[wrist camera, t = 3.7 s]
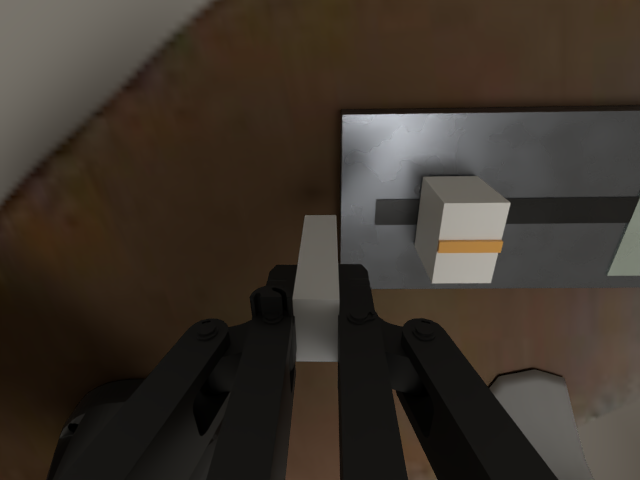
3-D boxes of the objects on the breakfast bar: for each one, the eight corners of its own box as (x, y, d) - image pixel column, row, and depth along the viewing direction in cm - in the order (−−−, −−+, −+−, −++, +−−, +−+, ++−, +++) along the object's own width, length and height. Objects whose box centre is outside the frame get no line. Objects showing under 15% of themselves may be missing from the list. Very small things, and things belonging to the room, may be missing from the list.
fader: (414, 246, 22) (432, 285, 18) (422, 176, 20) (445, 205, 16) (463, 245, 22) (492, 285, 18) (477, 176, 20) (512, 204, 16)
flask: (489, 365, 30) (559, 499, 21) (576, 367, 30) (684, 502, 21) (470, 422, 33) (524, 558, 24) (549, 424, 33) (631, 561, 24)
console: (339, 272, 25) (341, 314, 21) (341, 109, 20) (345, 123, 16) (740, 269, 25) (821, 312, 21) (844, 102, 20) (978, 114, 16)
